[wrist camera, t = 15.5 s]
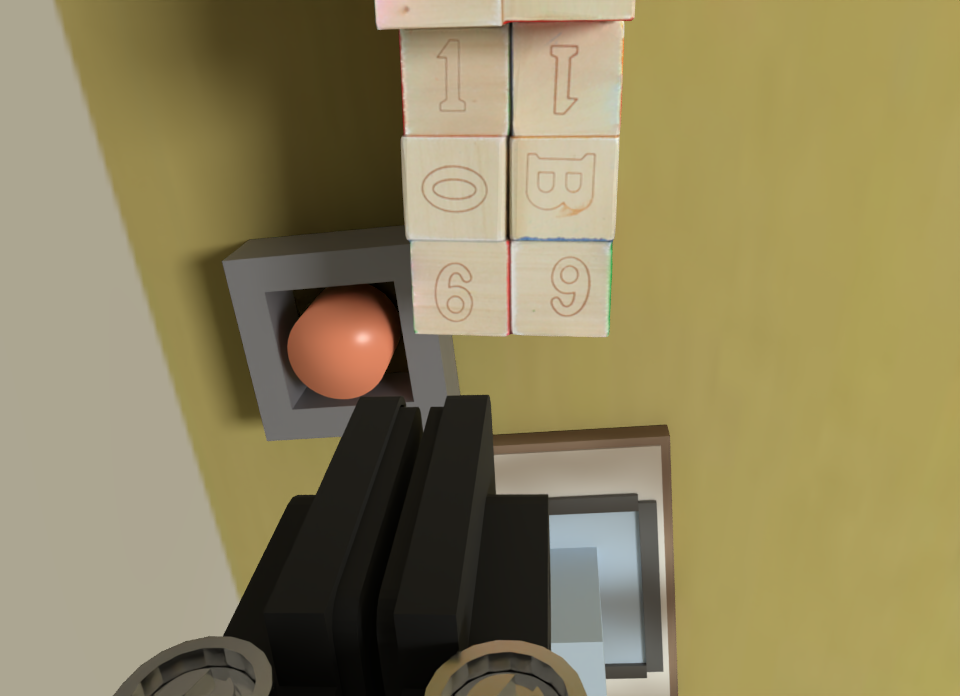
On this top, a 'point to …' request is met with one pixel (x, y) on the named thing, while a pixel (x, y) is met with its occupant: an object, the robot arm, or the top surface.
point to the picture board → (611, 535)
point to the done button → (344, 341)
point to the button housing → (272, 314)
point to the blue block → (578, 615)
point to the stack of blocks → (510, 161)
